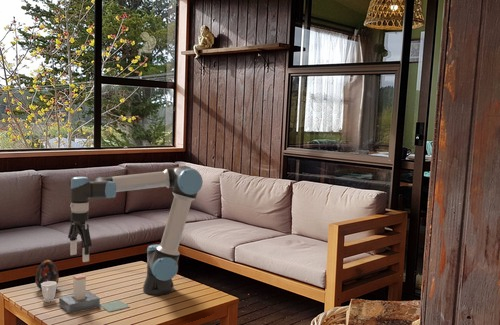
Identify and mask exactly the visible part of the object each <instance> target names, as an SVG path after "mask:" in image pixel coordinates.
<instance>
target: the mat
mask: <svg viewBox="0 0 500 325" xmlns="http://www.w3.org/2000/svg"><path fill="white" fill-rule="evenodd" d="M100 307H101V308H102V309H103V310H105V311H106V312H108V313H112V312H115V311H121V310H123V309H124V310H125V309H128V308H130V306H129V305H128V304H126V303H125V302H123V301H121V300H120V299H118V300H114V301H110V302H105V303H101V304H100Z"/></svg>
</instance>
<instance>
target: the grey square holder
mask: <svg viewBox="0 0 500 325" xmlns="http://www.w3.org/2000/svg"><path fill="white" fill-rule="evenodd" d="M100 303H101V298H100V297H99V296H97V295H96V294H95V293H93V292H91V291H90V290H88V291H87V290H86V299H82V300H77V301H76V300H74V299H73V293H72V294H67V295H62V296H59V298H58V305H59V307H60V306H61V307H60V308H62V310H64V311H65V312H67V313H68V314H74V313H79V312H83V311H87V310H92V309H96V308H100V307H101V306H100Z"/></svg>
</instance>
